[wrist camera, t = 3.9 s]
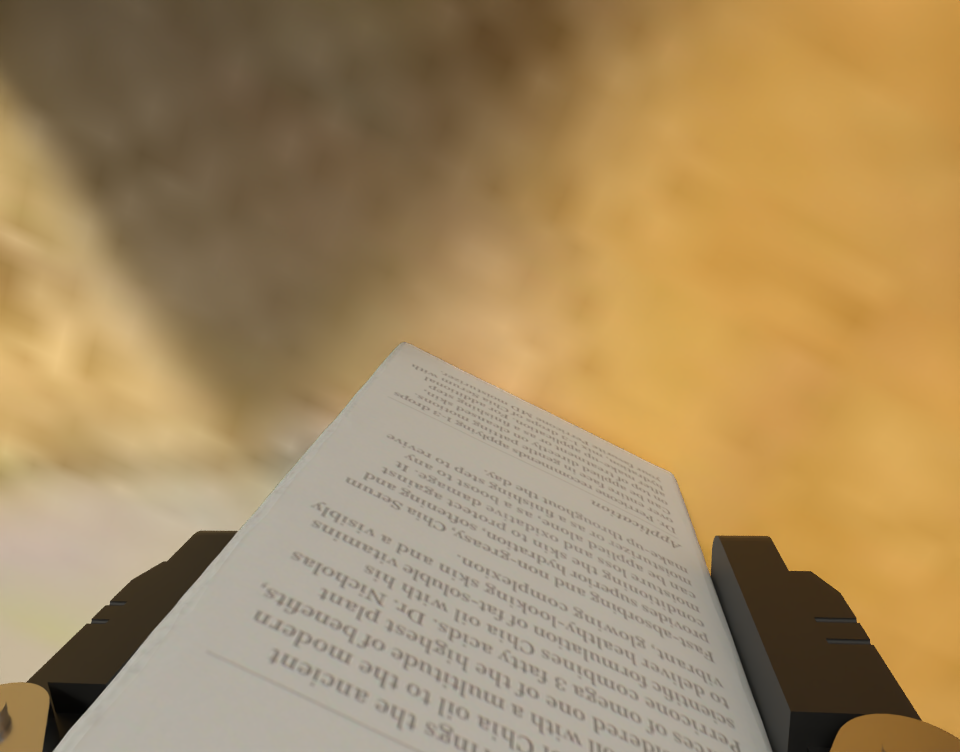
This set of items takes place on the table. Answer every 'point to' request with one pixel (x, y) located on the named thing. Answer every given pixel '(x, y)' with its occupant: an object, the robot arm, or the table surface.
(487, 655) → the skincare box
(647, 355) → the table surface
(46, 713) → the robot arm
